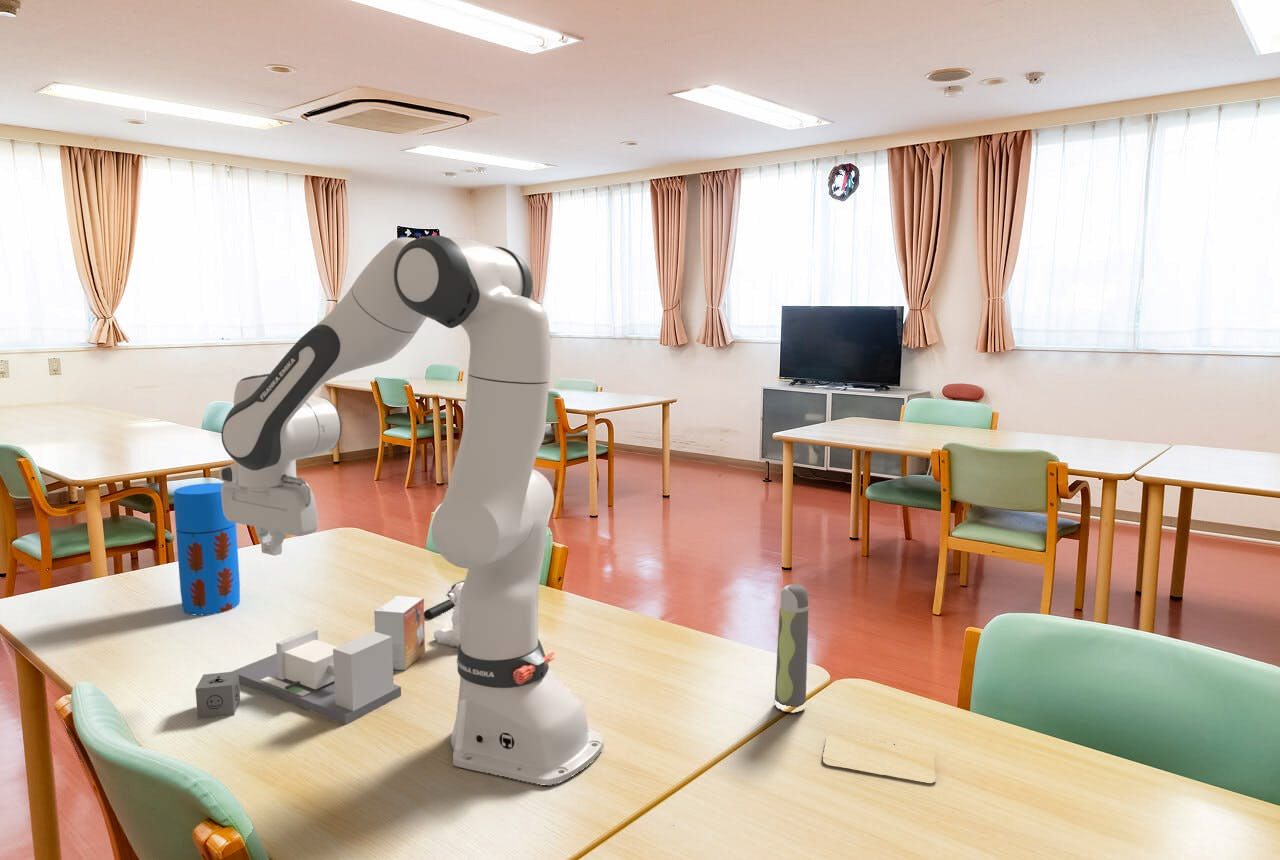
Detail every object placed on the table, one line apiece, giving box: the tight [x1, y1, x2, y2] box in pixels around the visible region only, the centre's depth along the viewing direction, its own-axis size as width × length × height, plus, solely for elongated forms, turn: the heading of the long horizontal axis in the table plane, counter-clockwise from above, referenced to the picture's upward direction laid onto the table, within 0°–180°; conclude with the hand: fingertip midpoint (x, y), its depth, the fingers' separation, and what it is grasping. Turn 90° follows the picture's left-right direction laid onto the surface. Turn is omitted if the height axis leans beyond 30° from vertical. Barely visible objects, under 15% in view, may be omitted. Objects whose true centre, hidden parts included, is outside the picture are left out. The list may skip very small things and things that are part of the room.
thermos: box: [173, 482, 241, 616], centre depth 168 cm, size 11×11×25 cm
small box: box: [373, 595, 426, 671], centre depth 144 cm, size 8×6×10 cm
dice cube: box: [195, 670, 241, 720], centre depth 126 cm, size 5×5×5 cm
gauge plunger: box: [275, 628, 338, 689], centre depth 132 cm, size 12×9×6 cm
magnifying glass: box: [424, 579, 465, 620], centre depth 175 cm, size 12×24×2 cm, turn 155°
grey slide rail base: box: [231, 631, 402, 725], centre depth 133 cm, size 28×11×10 cm, turn 60°
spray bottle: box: [774, 583, 809, 707], centre depth 128 cm, size 5×5×20 cm
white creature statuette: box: [433, 582, 464, 649], centre depth 152 cm, size 10×9×12 cm
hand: (272, 553), depth 136 cm, fingers closed
